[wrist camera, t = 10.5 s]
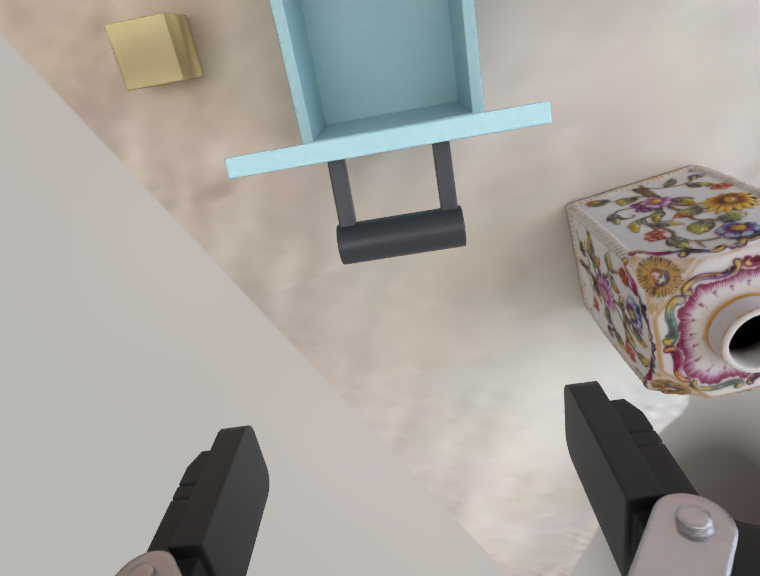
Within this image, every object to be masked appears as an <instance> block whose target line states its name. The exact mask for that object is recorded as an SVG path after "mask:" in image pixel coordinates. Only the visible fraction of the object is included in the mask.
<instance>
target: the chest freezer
mask: <svg viewBox="0 0 760 576" xmlns="http://www.w3.org/2000/svg"><path fill="white" fill-rule="evenodd" d="M269 1H270V5H271V9H272V14H273V18H274V22H275V27H276V31H277V35H278V40H279V44H280V48H281V52H282V57H283V61H284V65H285V70H286V74H287V78H288V83H289V87H290V91H291V96H292V100H293V104H294V108H295V113H296V117H297V121H298V126H299V130H300V134H301V139H302V143H303V144H309V143H315V142H320V141H326V140H331V139H337V138H343V137H348V136H354V135H360V134H365V133H371V132H377V131H382V130H388V129H393V128H399V127H405V126H410V125H416V124H422V123H427V122H433V121H438V120H444V119H450V118H455V117H461V116H467V115H472V114H478V113H483V112H484V107H483V95H482V84H481V72H480V61H479V49H478V38H477V26H476V15H475V3H474V0H269Z"/></svg>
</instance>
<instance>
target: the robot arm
mask: <svg viewBox="0 0 760 576" xmlns="http://www.w3.org/2000/svg"><path fill="white" fill-rule="evenodd" d="M564 402H565V431H566V441H567V446H568V450H569V453H570V457H571V459H572V462H573V464H574V466H575V469H576V471H577V473H578V476H579V478H580V480H581V483H582V485H583V487H584V490H585V492H586V494H587V497H588V499H589V501H590V504H591V506H592V508H593V511H594V513H595V515H596V517H597V520H598V522H599V524H600V527H601V529H602V531H603V534H604V536H605V538H606V540H607V543H608V545H609V548H610V550H611V552H612V555H613V557H614V559H615V561H616V564H617V566H618V568H619V571H620V573H621V575H622V576H760V526H758V525H752V524H747V523H743V522H739V521H736V520H734V519H732V517H731V516H730V515H729V514H728V513H727V512H726V511H725V510H724V509H723V508H722V507H720V506H719V505H717V504H716V503H714V502H712V501H710V500H708V499H705V498H703V497H700V496H699V495H698V493H697V492H696V490H695V489H694V487H693V486H692V484H691V483H690V481H689V480H688V479H687V477H686V476H685V474H684V473H683V471H682V470H681V468H680V467H679V465H678V464H677V463H676V461H675V459H674V458H673V456H672V455H671V453H670V452H669V450H668V449H667V448H666V446H665V445H664V444H662V440H661V439H660V437H659V436H658V434H657V433H656V431H654V430H653V427H652V425H651V424H650V422H649V421H648V420H647V418H646V417H645V415H644V414H643V412H642V411H640V410H639V409H638V408H636V407H635V406H633V405H632V404H630V403H629V402H627V401H626V400H625V399H620V400H612V401H609V399H608V397H607V396H606V394H605V392H604V391H603V389H602V387H601V386H600V384H599V383H598V382H597V381H592V382H585V383H577V384H569V385H565V388H564ZM179 485H180V487H178V488H177V490H176V492H175V495H174V496H173V501H171V503H170V505H169V507H168V509H167V511H166V513H165V515H164V518H163V519H162V521H161V523H160V526H159V528H158V530H157V532H156V534H155V536H154V538H153V540H152V542H151V544H150V547H149V549H148V551H147V553H144V554H142V555H140V556H138V557H136V558H134V559H133V560H131V561H130V562H128V563H127V564H126V565H125V566H124V567H123V568H122V569H121V570H120V571H119V572H118V573H117V574H116V575H115V576H246V574H247V570H248V566H249V563H250V559H251V555H252V552H253V548H254V544H255V541H256V537H257V533H258V530H259V526H260V522H261V519H262V515H263V511H264V508H265V504H266V500H267V497H268V492H269V474H268V469H267V466H266V464H265V461H264V458H263V455H262V452H261V449H260V446H259V444H258V441H257V438H256V435H255V432H254V430H253V428H252V427H251V426H241V427H234V428H226V429H221V430H220V431H219V432H218V434H217V437H216V439H215V441H214V443H213V446H212V448H211V450H210V451H203V452H201V453H200V454H199V455H198V457H197V458H196V459H195V460H194V461H193V462H192V463H191V464H190V465H189V466H188V467H187V469H186V472H185V474H184V476H183V478H182V480H181V482H180V484H179Z"/></svg>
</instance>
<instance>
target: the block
mask: <svg viewBox="0 0 760 576" xmlns="http://www.w3.org/2000/svg"><path fill="white" fill-rule="evenodd" d="M104 26H105V29H106V32H107V34H108V37H109V40H110V43H111V46H112V49H113V51H114V54H115V57H116V60H117V63H118V65H119V68H120V71H121V74H122V77H123V79H124V82H125V85H126V88H127V90H128V91H130V90H135V89H140V88H146V87H151V86H156V85H161V84H167V83H172V82H177V81H182V80H187V79H192V78H198V77H203V73H202V69H201V66H200V62H199V59H198V56H197V52H196V49H195V46H194V42H193V39H192V35H191V32H190V29H189V25H188V22H187V18H186V16H185V15H176V14H168V13H159V14H155V15H150V16H145V17H140V18H135V19H130V20H125V21H121V22H116V23H111V24H106V25H104Z"/></svg>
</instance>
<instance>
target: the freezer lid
mask: <svg viewBox="0 0 760 576" xmlns="http://www.w3.org/2000/svg"><path fill="white" fill-rule="evenodd" d="M549 123H551V108H550V101H545V102H540V103H534V104H529V105H523V106H517V107H512V108H506V109H500V110H495V111H489V112H483V113H478V114H472V115H467V116H461V117H455V118H450V119H444V120H438V121H433V122H427V123H422V124H416V125H410V126H405V127H399V128H393V129H388V130H382V131H377V132H371V133H365V134H360V135H354V136H348V137H343V138H337V139H331V140H326V141H320V142H315V143H309V144H303V145H298V146H292V147H286V148H281V149H275V150H270V151H264V152H258V153H253V154H247V155H241V156H236V157H230V158H225V164H226V168H227V172H228V177H229V179H232V178H238V177H244V176H250V175H255V174H261V173H267V172H273V171H278V170H284V169H290V168H296V167H301V166H307V165H313V164H319V163H324V162H328V167H329V173H330V178H331V183H332V188H333V194H334V199H335V204H336V209H337V215H338V220H339V225H338V226H337V243H338V249H339V253H340V257H341V260H342V262H343V264H352V263H358V262H365V261H371V260H378V259H384V258H390V257H397V256H403V255H410V254H416V253H423V252H429V251H436V250H442V249H448V248H455V247H461V246H466V232H465V224H464V218H463V213H462V209H461V206H460V205H458V206H457V198H456V190H455V182H454V175H453V167H452V159H451V151H450V144H449V141H451V140H457V139H462V138H468V137H474V136H480V135H486V134H491V133H497V132H503V131H509V130H514V129H520V128H526V127H532V126H537V125H543V124H549ZM428 144H432V149H433V156H434V163H435V170H436V178H437V185H438V192H439V200H440V207H441V208H439V209H433V210H427V211H421V212H415V213H409V214H402V215H396V216H390V217H384V218H378V219H372V220H365V221H359V222H356V217H355V211H354V206H353V200H352V195H351V189H350V184H349V178H348V173H347V167H346V161H345V159H347V158H353V157H359V156H365V155H370V154H376V153H382V152H388V151H393V150H399V149H405V148H411V147H416V146H422V145H428Z"/></svg>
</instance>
